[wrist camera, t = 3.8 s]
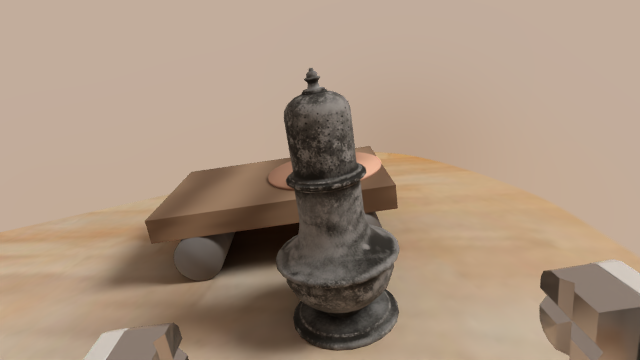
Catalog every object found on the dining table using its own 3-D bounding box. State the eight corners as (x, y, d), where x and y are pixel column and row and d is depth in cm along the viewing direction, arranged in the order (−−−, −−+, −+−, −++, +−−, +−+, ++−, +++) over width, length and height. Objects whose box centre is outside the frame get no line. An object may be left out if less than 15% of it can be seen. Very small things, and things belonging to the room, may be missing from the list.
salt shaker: (276, 298, 22) (231, 78, 18) (372, 268, 23) (348, 59, 20) (307, 373, 17) (251, 81, 13) (429, 327, 18) (411, 55, 14)
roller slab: (164, 286, 25) (144, 218, 23) (203, 220, 34) (190, 169, 33) (401, 252, 25) (395, 181, 23) (374, 196, 34) (369, 143, 33)
